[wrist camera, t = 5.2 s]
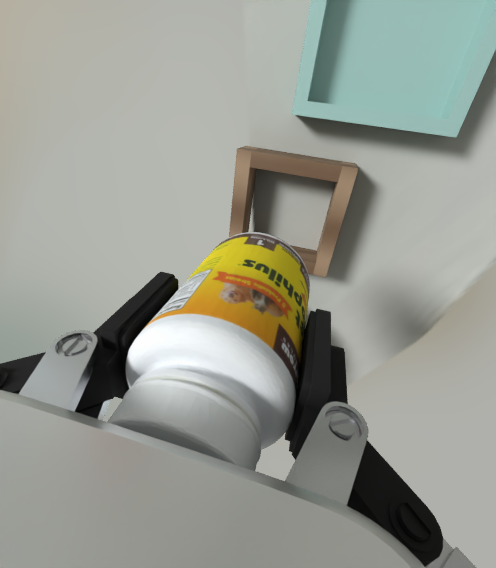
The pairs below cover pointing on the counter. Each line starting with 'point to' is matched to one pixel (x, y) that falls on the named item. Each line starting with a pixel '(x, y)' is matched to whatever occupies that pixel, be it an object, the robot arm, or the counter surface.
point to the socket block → (298, 166)
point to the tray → (395, 62)
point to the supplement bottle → (223, 354)
